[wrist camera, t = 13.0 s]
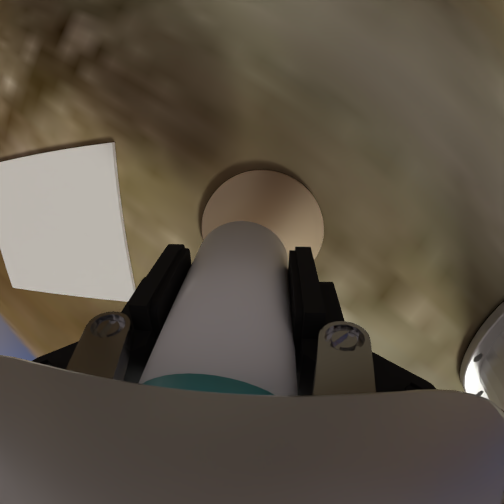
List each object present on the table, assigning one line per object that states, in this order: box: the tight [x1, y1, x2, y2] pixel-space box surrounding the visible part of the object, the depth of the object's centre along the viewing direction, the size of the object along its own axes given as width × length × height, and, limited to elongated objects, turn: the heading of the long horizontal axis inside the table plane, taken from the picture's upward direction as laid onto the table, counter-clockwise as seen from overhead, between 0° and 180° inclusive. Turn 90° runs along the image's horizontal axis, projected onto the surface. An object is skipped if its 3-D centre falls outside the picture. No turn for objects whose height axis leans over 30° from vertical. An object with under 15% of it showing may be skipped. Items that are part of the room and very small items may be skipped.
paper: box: [0, 142, 136, 302], centre depth 18 cm, size 12×10×1 cm
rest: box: [202, 170, 324, 262], centre depth 17 cm, size 6×6×1 cm
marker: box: [139, 221, 298, 395], centre depth 9 cm, size 4×4×9 cm
